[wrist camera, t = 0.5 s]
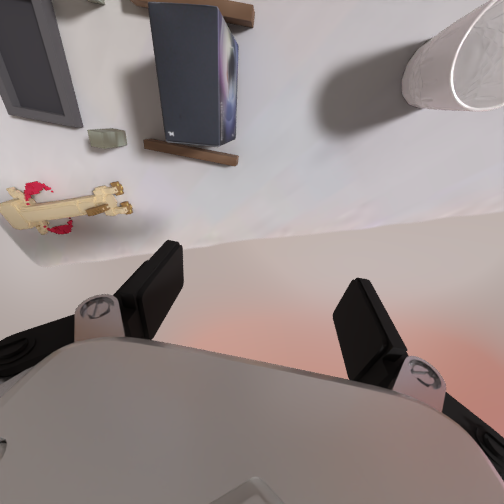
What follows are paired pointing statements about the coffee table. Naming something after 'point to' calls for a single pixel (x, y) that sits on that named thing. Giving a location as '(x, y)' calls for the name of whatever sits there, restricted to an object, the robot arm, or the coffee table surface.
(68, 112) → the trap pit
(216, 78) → the small box
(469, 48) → the white cup
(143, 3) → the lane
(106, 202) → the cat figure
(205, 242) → the coffee table surface
